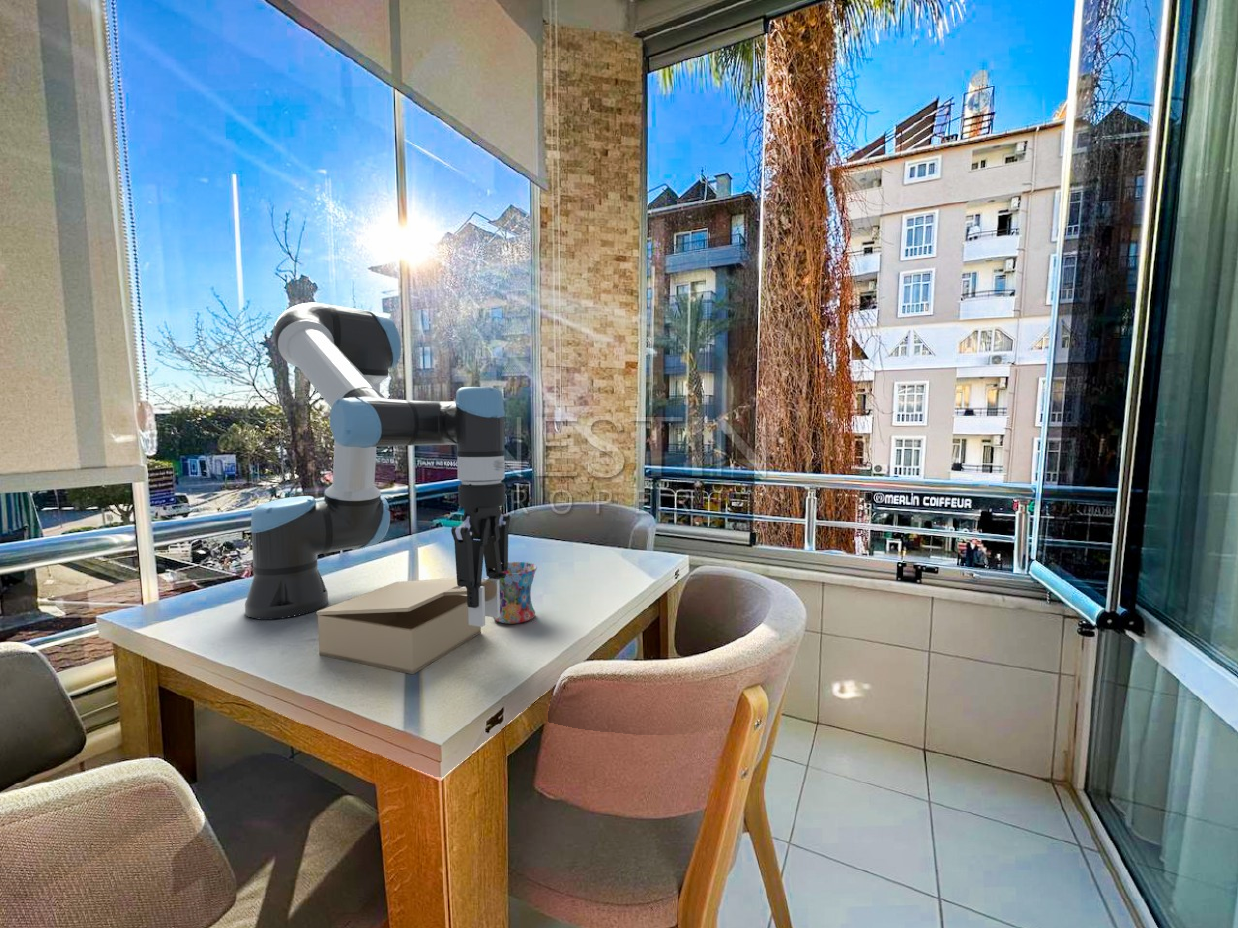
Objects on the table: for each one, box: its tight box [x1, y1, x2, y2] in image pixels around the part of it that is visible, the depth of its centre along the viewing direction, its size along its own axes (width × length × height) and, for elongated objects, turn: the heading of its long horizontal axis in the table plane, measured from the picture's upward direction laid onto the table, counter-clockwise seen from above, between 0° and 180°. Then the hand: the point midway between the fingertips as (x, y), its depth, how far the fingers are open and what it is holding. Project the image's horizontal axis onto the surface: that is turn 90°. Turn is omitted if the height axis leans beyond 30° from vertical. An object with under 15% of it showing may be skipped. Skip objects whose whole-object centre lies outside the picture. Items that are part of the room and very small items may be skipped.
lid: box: [316, 577, 497, 616], centre depth 93 cm, size 30×18×4 cm, turn 70°
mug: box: [492, 561, 538, 625], centre depth 109 cm, size 12×9×11 cm
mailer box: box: [317, 595, 482, 675], centre depth 95 cm, size 20×18×7 cm
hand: (484, 620), depth 89 cm, fingers closed on lid, 4 cm apart
